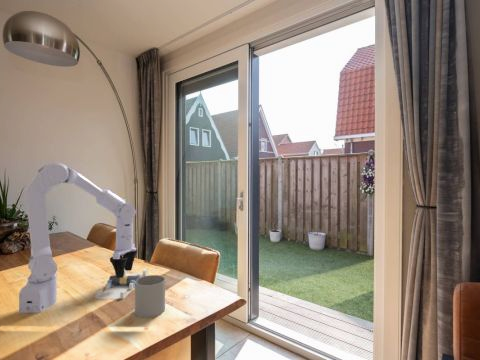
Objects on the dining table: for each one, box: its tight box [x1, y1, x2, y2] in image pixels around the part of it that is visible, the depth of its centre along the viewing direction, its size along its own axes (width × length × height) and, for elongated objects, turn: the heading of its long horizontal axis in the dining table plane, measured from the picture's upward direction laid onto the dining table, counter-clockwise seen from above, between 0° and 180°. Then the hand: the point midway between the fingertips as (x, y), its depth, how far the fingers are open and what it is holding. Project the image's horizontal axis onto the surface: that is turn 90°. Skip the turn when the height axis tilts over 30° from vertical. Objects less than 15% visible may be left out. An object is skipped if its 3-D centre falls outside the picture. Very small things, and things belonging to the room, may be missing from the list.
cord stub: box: [108, 275, 140, 285], centre depth 103 cm, size 10×3×3 cm, turn 90°
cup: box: [134, 274, 166, 319], centre depth 83 cm, size 8×8×10 cm
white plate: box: [94, 268, 149, 300], centre depth 103 cm, size 24×9×4 cm, turn 0°
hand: (124, 273), depth 103 cm, fingers open, 7 cm apart
